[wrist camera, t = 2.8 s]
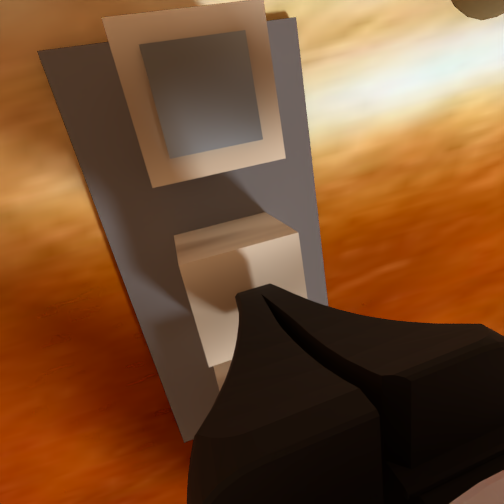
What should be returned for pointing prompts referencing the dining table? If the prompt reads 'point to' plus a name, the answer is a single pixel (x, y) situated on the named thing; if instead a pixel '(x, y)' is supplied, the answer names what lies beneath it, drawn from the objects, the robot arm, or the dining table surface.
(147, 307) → the mat
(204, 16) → the marked block 1
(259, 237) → the plain block
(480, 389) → the robot arm
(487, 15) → the brown game pawn
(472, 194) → the dining table surface
